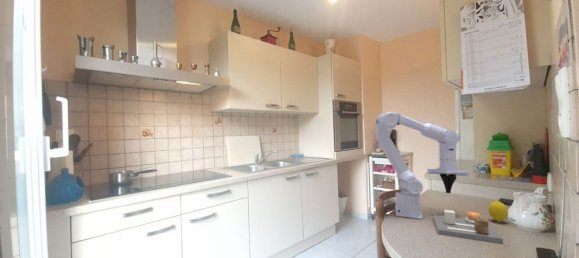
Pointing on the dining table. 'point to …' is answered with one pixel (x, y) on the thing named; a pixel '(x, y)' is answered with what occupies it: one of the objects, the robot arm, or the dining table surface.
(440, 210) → the dining table surface
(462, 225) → the panel
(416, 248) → the dining table surface
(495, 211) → the lemon
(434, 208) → the dining table surface
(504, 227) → the dining table surface
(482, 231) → the slider walnut
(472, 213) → the button orange
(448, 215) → the slider cream
